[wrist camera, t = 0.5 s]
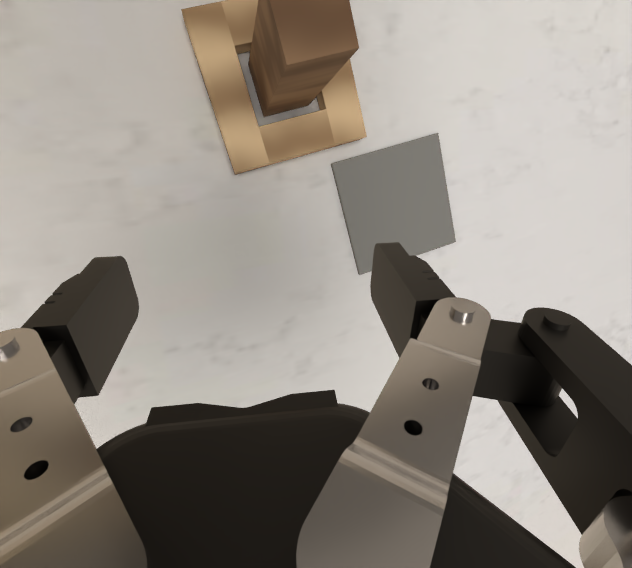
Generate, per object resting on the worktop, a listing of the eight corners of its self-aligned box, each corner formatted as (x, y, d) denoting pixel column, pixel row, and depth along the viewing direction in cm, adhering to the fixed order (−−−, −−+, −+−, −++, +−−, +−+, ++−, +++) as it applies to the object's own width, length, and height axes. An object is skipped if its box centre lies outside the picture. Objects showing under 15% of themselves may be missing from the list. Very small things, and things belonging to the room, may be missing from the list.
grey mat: (331, 164, 36) (332, 163, 36) (435, 133, 38) (438, 132, 38) (358, 274, 40) (359, 274, 39) (453, 241, 41) (455, 241, 41)
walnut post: (248, 64, 32) (262, -28, 19) (295, 53, 33) (340, -43, 20) (263, 117, 34) (286, 65, 20) (308, 105, 34) (359, 47, 21)
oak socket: (184, 21, 30) (181, 9, 29) (326, -9, 32) (332, -22, 31) (234, 174, 34) (235, 173, 32) (359, 139, 36) (366, 136, 34)
